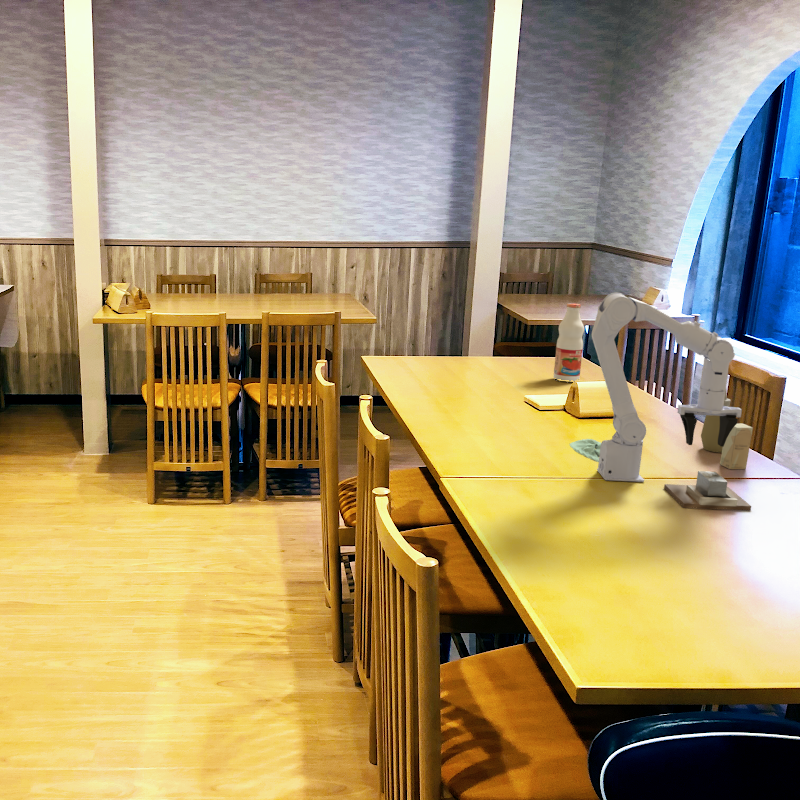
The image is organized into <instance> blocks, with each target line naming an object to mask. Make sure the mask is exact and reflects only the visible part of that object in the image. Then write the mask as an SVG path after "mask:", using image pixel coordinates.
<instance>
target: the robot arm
mask: <svg viewBox="0 0 800 800" xmlns="http://www.w3.org/2000/svg"><path fill="white" fill-rule="evenodd" d="M595 316H596V317H595V320H594V322H593V323H594V324H593V327H592V329H591V330H592V331H591V339H592V343H593V346H594V348H595V352H596V355H597V359H598V361H599V366H600V369H601V373H602V375H603V379H604V381H605V385H606V388H607V392H608V395H609V399H610V402H611V406H612V411H613V420H612V426H613V428H614V430H615V432H614V434H613V435H612V438H611V439H606V440H602V441H601V447H600V456H599V462H598V467H597V469H596V470H597V472H598V473H599V474H600V475H601V477H602V478H603V480H604V481H615V482H616V481H618V482H621V481H622V482H642V483H644V482H645V479H644V478H643V477H642V476H641V475H640V469H641V462H642V453H643V446H644V439H645V437H646V435H647V427H646V425H645V424H646V423H644V422H643V421H642V420H641V419H640V417H639V415H638V414H639V413H638V412H637V409H636V407H635V405H634V402H633V399H632V398H633V397H632V395H631V391H630V389H629V386H628V382H627V378H626V376H625V372H624V367H623V365H622V361H621V358H620V355H619V351H618V349H617V348H618V347H617V345H616V341H615V339H616V337H617V335H618V334H619V332H620V331H621V329H622V328H623V327H624V326H626V325H627V324H629V323H630V322H631V321H633V322H636V323H637V322H644V321H646V322H648V323H650V324H652V325H654V326H656V327H658V328H661V329H662V330H664V331H666V332H668V333H671V334H672V335H673V336H674V339H675V342H676V343H677V344H678V345H680V346H682V347H684V348H686V349H688V350H689V351H691V352H693V353H695V354H697V355H699V356H703V358H704V359H703V365H702V370H701V377H700V383H699V391H698V398H697V404H695V403H694V404H678V406H677V412H676V413H678V414H679V416H680V419H681V421H682V424H683V428H684V433H685V434H684V435H685V443H686V444H687V445H688V446H692V445H693V443H694V433H695V429H696V426H697V422H698V418H696V415H697V416H706V415H715V416H720V428H719V435H718V445H720V446H722V447H724V444H725V442H726V439H727V437H728V435H729V433H730V432H731V430H732V429H733V427H734V426H735V425H736V424H737V423H738V422H739V421H738V420H739V419H738V418H741V417H742V410H743V409H742V408H740V407H738V406H737V407H735V406H729V407H727V406H723V405H724V398H725V391H726V392H727V383H728V375H729V367H730V363H731V362H732V361H733V360H734V358H735V356H736V353H735V351H734V346H733V345H732V344H731V343H730V342H729V341H727V340H726V339H724V338H723V337H721V336H720V335H719V333H717V332H715V331H713V332H711V331H709V330H707V329H705V328H703V327H701V323H699V322H697V321H696V320H695V321H693V322H692V321H690V320H687V321H685V322H680V321H678V320H676V319H674V318H673V317H671V316H669V315H668V314H665V312H663V311H661V310H658V309H657V308H656V307H653V306H651V305H650V304H648V303H646V302H644V301H641V300H638V299H636V298H633V297H631V296H628V297H627V296H626V295H625V294H623V293H621V292H612V293H609V294H607V295H606V296H605V297H604V298H603V300H602V301H601V303H600V304H599V305H598V307H597V314H596V315H595Z"/></svg>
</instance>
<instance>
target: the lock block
mask: <svg viewBox="0 0 800 800" xmlns="http://www.w3.org/2000/svg"><path fill="white" fill-rule="evenodd" d="M695 483H696V484H695V485H696V490H697V491H698V492H699V493H700V494H702V495H703V496H704V497H715V498H725V497H726V489H727V487H728V481H727V480H726V479H725V478H724V477H723V476H721V475H720V474H719V473H717V472H716V471H708V470H705V471H704V470H698V471H697V476H696V482H695Z"/></svg>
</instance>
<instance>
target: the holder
mask: <svg viewBox="0 0 800 800" xmlns="http://www.w3.org/2000/svg"><path fill="white" fill-rule="evenodd" d="M663 488H664V489H665V491H666V492H667V493H668V494H669V495H670V496H671V497H672V498H673V499H674V500H675V501H676V502H677V503H678V504H679V505H680V506H681V507H682V508H683V509H699V510H700V509H701V510H702V509H704V510H705V509H706V510H726V511H727V510H728V511H729V510H730V511H752V510H751V509H752V505H750V503H748V502H747V501H746V500H744V499H743V497H741V496H740V495H738V493H736V492H735V491H734V490H733V489H731V488H730V487H729V486H727V489H726V497H725V498H715V497H704V496H703V495H702V494H700V493H699V492H698V491H697V490H696V484H695V485H693V484H672V483H671V484H670V483H669V484H668V483H665V484H664V486H663Z"/></svg>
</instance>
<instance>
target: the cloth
mask: <svg viewBox="0 0 800 800" xmlns="http://www.w3.org/2000/svg"><path fill="white" fill-rule="evenodd" d="M601 443H602V441H597V440H595V439H593V438H586V439H585V438H583V439H580V440H579V439H578V440H575V441H573V442H570V443H569V446H570V448H572V449H573V450H574V452H576V453H578V454H579V455H581V456H584V457H586V458H588V459H590V460H592V461H595V462H597V463H599V456H600V447H601Z"/></svg>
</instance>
